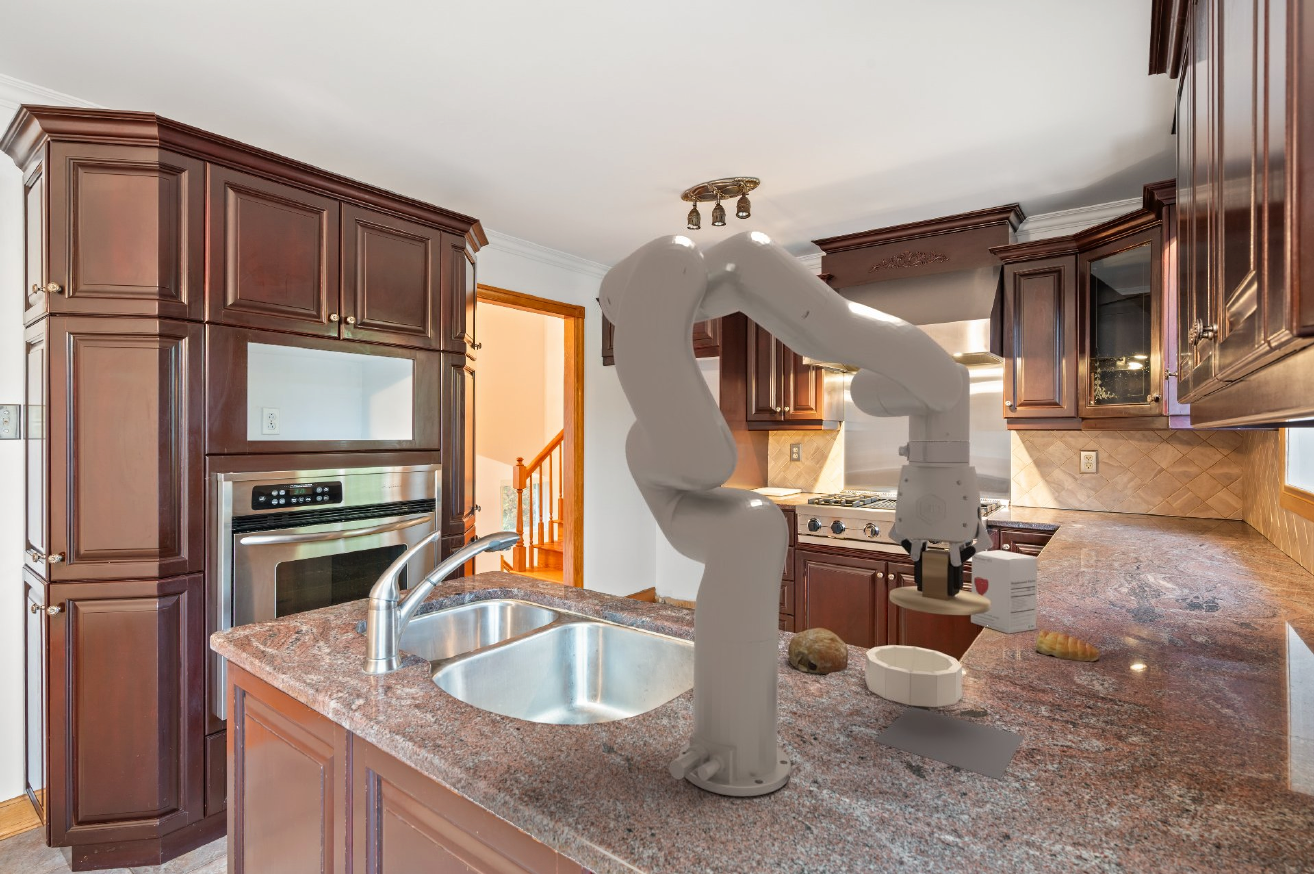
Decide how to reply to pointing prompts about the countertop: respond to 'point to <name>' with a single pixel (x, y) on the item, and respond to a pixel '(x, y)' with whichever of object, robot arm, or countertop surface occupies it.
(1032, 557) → the supplement box
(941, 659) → the bowl
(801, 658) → the bread roll
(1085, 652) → the pastry
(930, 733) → the mat
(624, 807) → the countertop surface
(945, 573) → the lid
